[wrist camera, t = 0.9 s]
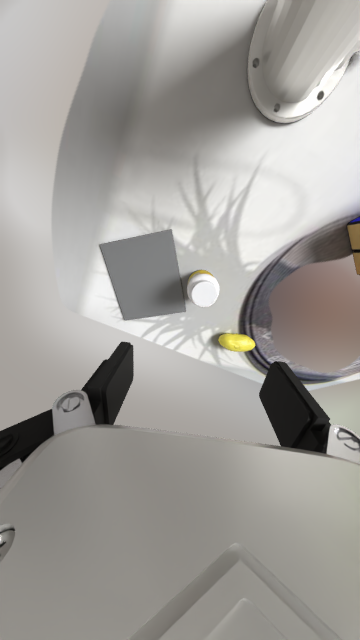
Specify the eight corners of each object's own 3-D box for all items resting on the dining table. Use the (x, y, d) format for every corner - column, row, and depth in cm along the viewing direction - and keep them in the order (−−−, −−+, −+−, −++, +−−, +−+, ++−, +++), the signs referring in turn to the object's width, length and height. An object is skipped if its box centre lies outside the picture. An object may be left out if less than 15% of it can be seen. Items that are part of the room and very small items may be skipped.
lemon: (220, 326, 38) (223, 335, 35) (254, 334, 38) (261, 343, 35) (215, 342, 40) (217, 351, 36) (248, 349, 40) (253, 359, 36)
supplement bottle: (219, 284, 34) (229, 298, 25) (198, 300, 36) (200, 318, 27) (203, 263, 33) (208, 269, 24) (182, 280, 34) (179, 292, 26)
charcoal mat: (171, 229, 31) (171, 229, 30) (185, 310, 37) (185, 311, 37) (100, 244, 33) (99, 244, 32) (125, 319, 39) (124, 320, 38)
